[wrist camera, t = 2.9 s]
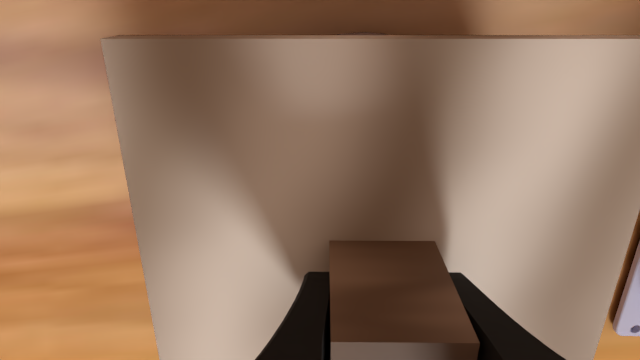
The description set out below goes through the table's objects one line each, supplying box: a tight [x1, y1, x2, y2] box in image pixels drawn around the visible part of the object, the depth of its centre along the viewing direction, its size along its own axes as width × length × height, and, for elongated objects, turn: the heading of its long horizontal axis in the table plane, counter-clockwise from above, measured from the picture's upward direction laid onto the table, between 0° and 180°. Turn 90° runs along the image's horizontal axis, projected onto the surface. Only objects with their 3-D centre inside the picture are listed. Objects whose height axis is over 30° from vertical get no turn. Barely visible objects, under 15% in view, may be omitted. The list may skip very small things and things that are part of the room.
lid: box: [101, 35, 640, 360], centre depth 12 cm, size 14×14×5 cm
